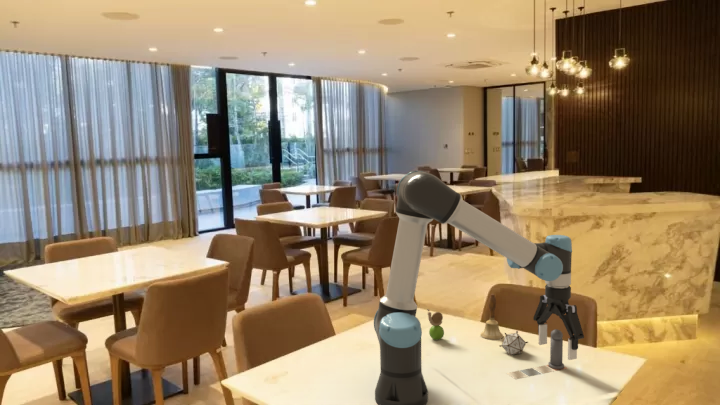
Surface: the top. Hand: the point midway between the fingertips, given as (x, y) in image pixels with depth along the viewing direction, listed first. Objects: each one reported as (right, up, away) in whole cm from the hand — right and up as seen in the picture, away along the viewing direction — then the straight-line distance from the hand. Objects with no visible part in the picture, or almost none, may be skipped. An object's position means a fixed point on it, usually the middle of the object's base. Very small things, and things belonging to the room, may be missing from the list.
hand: (556, 351), depth 170 cm
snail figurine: (-34, -4, +29) cm, 45 cm away
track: (-7, -7, -2) cm, 10 cm away
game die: (-10, -5, +13) cm, 17 cm away
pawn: (0, -5, +1) cm, 5 cm away
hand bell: (-13, -3, +32) cm, 35 cm away
